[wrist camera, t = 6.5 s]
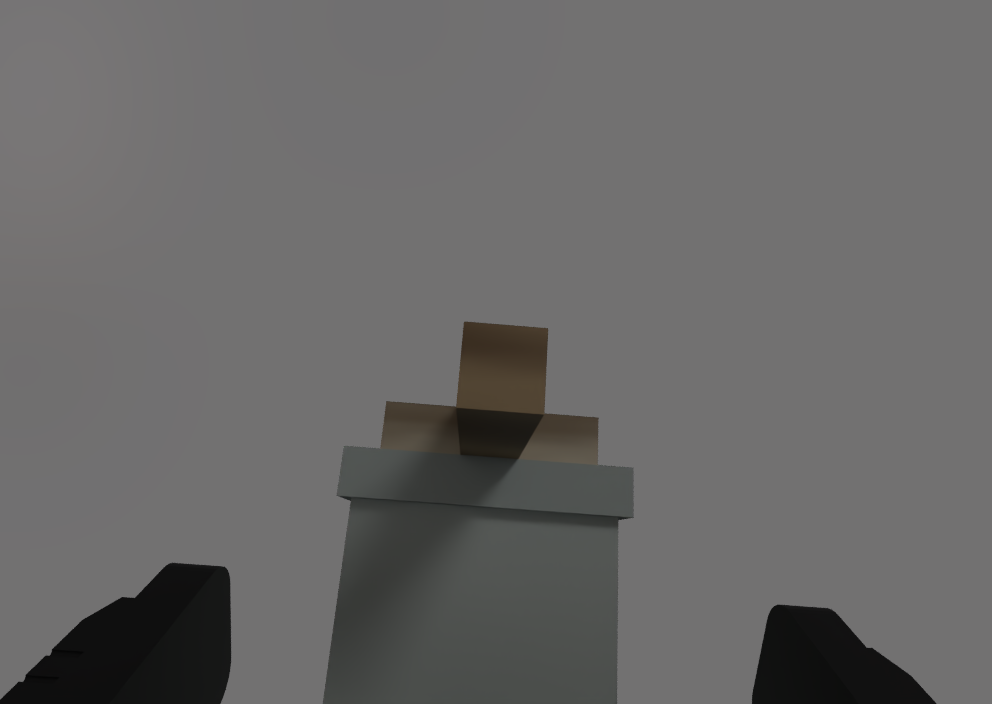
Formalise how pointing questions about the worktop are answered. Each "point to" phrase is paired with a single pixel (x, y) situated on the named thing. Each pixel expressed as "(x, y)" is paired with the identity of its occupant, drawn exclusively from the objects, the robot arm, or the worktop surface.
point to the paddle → (495, 405)
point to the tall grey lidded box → (477, 580)
